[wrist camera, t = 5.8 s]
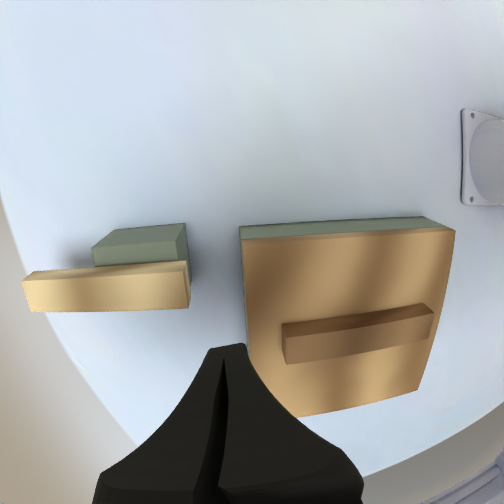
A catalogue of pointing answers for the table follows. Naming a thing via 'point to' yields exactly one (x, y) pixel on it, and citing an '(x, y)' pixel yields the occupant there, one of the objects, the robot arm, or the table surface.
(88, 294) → the light wooden bar
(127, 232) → the block
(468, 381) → the table surface
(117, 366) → the table surface
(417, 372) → the lid
